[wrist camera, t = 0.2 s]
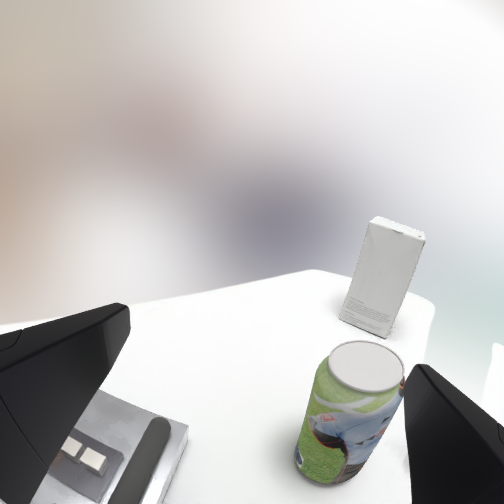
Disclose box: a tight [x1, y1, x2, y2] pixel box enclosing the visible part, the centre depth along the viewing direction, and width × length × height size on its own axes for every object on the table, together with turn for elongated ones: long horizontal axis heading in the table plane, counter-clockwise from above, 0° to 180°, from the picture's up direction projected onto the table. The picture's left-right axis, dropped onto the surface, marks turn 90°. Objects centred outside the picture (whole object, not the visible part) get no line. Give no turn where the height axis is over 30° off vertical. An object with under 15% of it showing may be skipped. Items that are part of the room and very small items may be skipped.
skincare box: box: [339, 216, 425, 338], centre depth 39 cm, size 8×7×16 cm
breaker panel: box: [0, 389, 188, 504], centre depth 13 cm, size 14×14×4 cm
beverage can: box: [295, 340, 405, 484], centre depth 17 cm, size 6×7×12 cm
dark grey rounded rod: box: [107, 417, 171, 504], centre depth 12 cm, size 13×2×2 cm, turn 170°
